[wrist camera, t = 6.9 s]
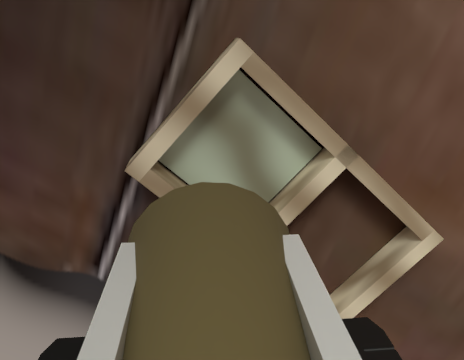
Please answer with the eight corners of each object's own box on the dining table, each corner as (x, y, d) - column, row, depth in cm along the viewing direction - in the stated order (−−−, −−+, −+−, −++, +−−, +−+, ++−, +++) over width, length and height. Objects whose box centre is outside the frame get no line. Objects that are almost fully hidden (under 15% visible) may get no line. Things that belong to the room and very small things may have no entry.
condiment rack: (326, 312, 36) (336, 332, 33) (130, 159, 29) (124, 170, 27) (426, 224, 33) (443, 239, 31) (236, 37, 27) (239, 38, 25)
